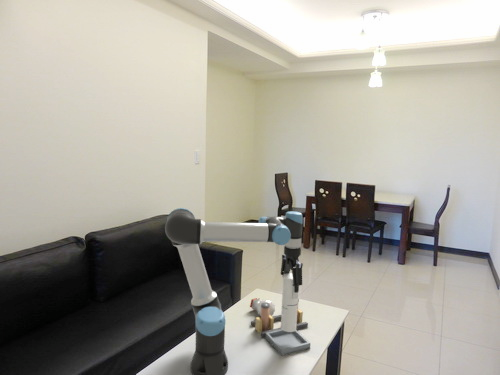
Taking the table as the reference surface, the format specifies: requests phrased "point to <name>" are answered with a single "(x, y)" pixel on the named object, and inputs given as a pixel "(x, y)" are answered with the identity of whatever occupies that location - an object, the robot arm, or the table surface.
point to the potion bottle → (257, 305)
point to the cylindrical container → (288, 305)
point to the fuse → (265, 316)
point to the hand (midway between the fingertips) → (290, 294)
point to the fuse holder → (258, 321)
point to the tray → (287, 341)
